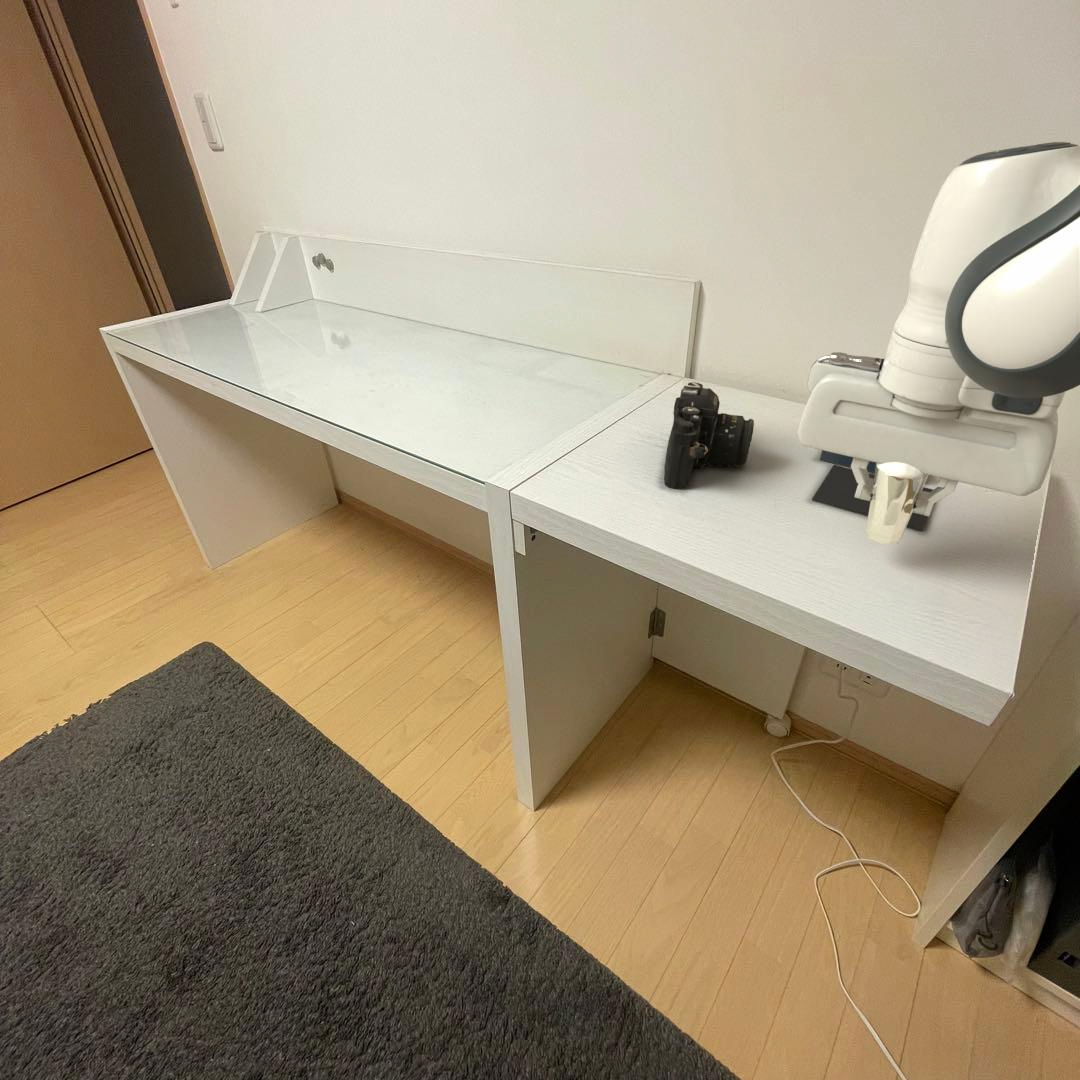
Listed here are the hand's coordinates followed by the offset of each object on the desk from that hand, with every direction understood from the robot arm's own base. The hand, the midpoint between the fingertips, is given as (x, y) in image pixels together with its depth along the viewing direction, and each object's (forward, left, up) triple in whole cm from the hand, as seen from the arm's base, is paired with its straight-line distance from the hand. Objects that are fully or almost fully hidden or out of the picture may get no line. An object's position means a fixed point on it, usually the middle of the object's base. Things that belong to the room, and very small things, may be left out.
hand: (892, 504), depth 60 cm
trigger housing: (+5, -25, -7) cm, 26 cm away
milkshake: (0, 0, -4) cm, 4 cm away
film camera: (+24, -11, -7) cm, 27 cm away
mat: (+3, -14, -7) cm, 16 cm away
